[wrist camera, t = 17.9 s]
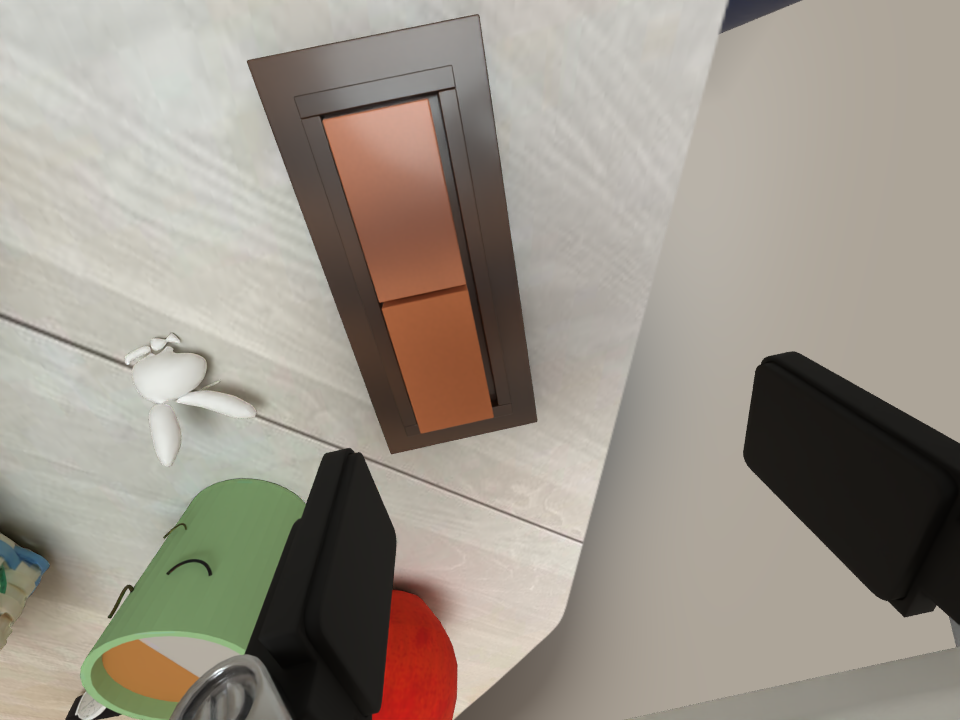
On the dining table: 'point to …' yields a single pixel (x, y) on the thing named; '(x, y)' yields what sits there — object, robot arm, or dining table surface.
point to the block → (439, 357)
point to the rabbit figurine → (177, 392)
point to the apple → (417, 664)
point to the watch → (89, 709)
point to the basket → (16, 582)
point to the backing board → (469, 194)
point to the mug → (192, 599)
